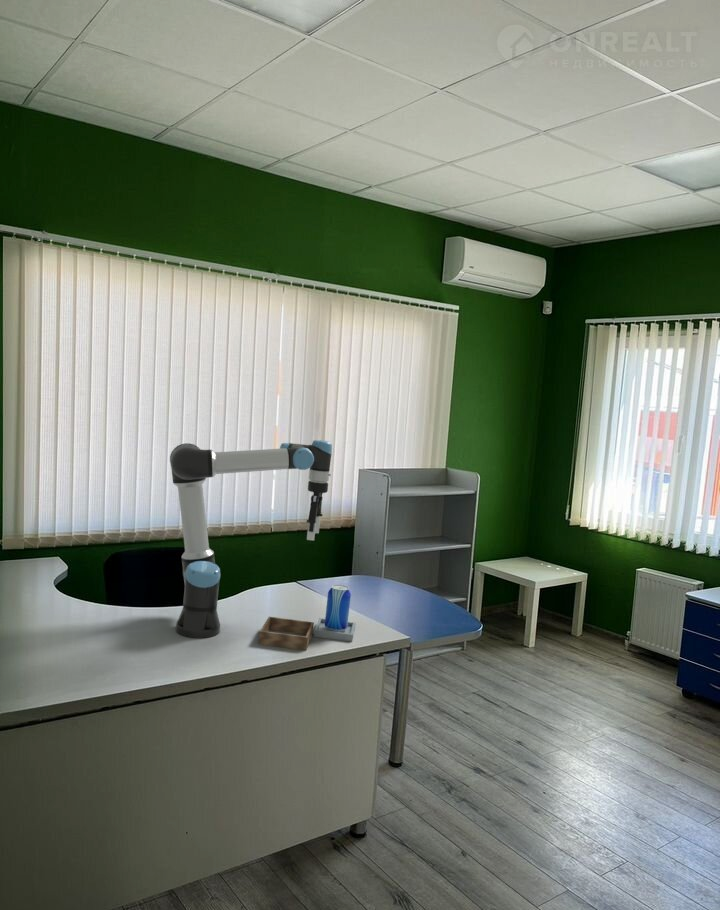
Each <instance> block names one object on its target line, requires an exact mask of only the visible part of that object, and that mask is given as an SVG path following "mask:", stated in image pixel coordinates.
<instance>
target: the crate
mask: <svg viewBox="0 0 720 910" xmlns="http://www.w3.org/2000/svg"><path fill="white" fill-rule="evenodd" d="M314 626H315V622H313V621H307V620H300V619H299V620H298V619H292V618H284V617H283V618H282V617H276V616H275V617H274V616H268V617H267V619H266V621H265V622H264V623H263V625H262V626H261V629H260V630H259V634H258V645H263V646H271V647H279V648H284V649H285V648H286V649H294V650H300V651H301V650H302V651H307V650H308V647H309V644H310V642H311V640H312V636H314ZM272 631H273V632H272ZM274 631H275V632H274ZM276 631H277V632H276ZM278 631H280V632H278ZM281 632H287V633H281ZM289 633H290V634H289ZM291 633H292V634H291ZM293 633H294V634H293ZM296 634H302V635H296ZM303 635H304V636H303Z"/></svg>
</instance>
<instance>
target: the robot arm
mask: <svg viewBox="0 0 720 910" xmlns="http://www.w3.org/2000/svg"><path fill="white" fill-rule="evenodd" d="M332 452H333V444H332V442H331V441H329V440H321V439H320V440H319V439H314V440H312V444H302V443H292V442H283V443H281V444H280V446H279V448H268V449H266V448H265V449H249V450H248V449H247V450H233V451H214V450H212V449H201V448H200V447H198V446H197V445H196V444H193V443H189V442H187V443H185V442H184V443H180V444H179V445H176V447H174V448H173V449H172V451H171V453H170V455H169V463H170V468H171V477H172V483H173V485H175V486H176V487H177V489H178V490H177V492H178V499H179V500H178V501H179V507H180V517H181V518H180V519H181V524H182V535H183V543H184V552H183V553H182V555H181V563H182V564H181V565H182V576H183V581H184V593H183V603H182V605H183V606H182V609H181V611H180V614H179V617H178V618H177V621H176V623H175V632H176V633H178V635H181V636H184V637H188V638H193V639H194V638H196V639H198V638H200V639H201V638H202V639H204V638H211V637H214V636H216V635H219V633H220V632H221V623H220V617H219V614H218V601H219V600H218V598H219V590H220V589H219V587H220V579H221V568H220V567H219V566H218V564H216V562H215V561H216V560H215V559H216V558H215V552H214V550H212V549H211V548H210V543H209V536H208V528H207V526H208V525H207V516H206V506H205V497H204V491H203V490H204V488H203V484H204V483H205V481H207V479H206V478H214V477H215V476H216V475H222V474H235V473H236V474H237V473H250V472H251V473H252V472H264V471H265V472H266V471H281V470H296V469H297V470H300V471H304V470H308V469H309V472H308V480H309V481H308V483H307V491H308V492H310V493H313V495H312V496H311V497H310V506H309V515H308V519H306V523H307V524H308V525H307V531H306V533H307V534H306V540H307V541H315V535H316V534H319V533H320V525H321V524H320V523H321V517H323V513H322V504H323V497H324V496H323V494H325V493H327V492H328V489H329V483H328V482H329V481H330V480H329V479H330V477H331V475H332V474H331V473H330V471H331V470H330V468H331V461H332V455H333V453H332Z"/></svg>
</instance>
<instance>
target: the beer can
mask: <svg viewBox="0 0 720 910" xmlns="http://www.w3.org/2000/svg"><path fill="white" fill-rule="evenodd" d="M330 587H331V588H330V589H329V590H328V592H327V598H326V599H327V600H326V609H325V617H324V619H325V627H326V629H327V630H328V631H334V632H344V631H345V629H346V628H347V625H348V622H349V613H350V606H351V605H350V604H351V596H352V594H351V591H350V587H349V586H347V585H344V584H343V585H342V584H333V585H331V586H330Z"/></svg>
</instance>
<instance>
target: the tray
mask: <svg viewBox="0 0 720 910" xmlns="http://www.w3.org/2000/svg"><path fill="white" fill-rule="evenodd" d="M356 625H357V622H353V621H348V625H347V628H346V629H345V631H344V632H334V631H328V630H327V629H326V627H325V618H322V617H319V618H318V620H317V623H316V625H315V628H314V629H313V637H314V638H322V639H330V640H336V641H345V642H351V643H352V642H353V639H354V636H355V632H356Z"/></svg>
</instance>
